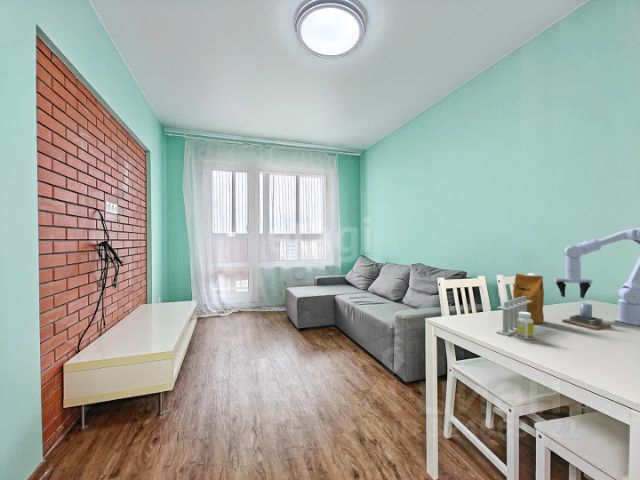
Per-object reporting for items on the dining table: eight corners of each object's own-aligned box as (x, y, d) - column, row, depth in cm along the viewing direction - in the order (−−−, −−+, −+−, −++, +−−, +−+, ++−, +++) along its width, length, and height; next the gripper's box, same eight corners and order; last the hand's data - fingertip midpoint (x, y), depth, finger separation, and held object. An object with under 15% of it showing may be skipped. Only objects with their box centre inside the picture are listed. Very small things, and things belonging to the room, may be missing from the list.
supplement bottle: (532, 336, 113) (532, 312, 113) (534, 340, 108) (534, 315, 108) (515, 333, 115) (516, 310, 115) (517, 338, 111) (517, 313, 111)
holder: (577, 318, 135) (577, 312, 135) (610, 326, 124) (610, 319, 124) (562, 321, 131) (562, 315, 130) (595, 330, 119) (595, 323, 119)
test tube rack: (508, 336, 113) (508, 304, 113) (496, 333, 116) (496, 301, 116) (532, 325, 127) (532, 296, 127) (521, 322, 130) (521, 294, 130)
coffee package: (516, 315, 142) (517, 272, 141) (547, 321, 131) (547, 274, 131) (508, 318, 136) (508, 273, 136) (538, 325, 126) (539, 276, 125)
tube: (582, 320, 130) (582, 303, 130) (594, 322, 126) (593, 304, 126) (577, 321, 128) (577, 303, 128) (588, 323, 125) (588, 305, 124)
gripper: (586, 269, 141) (586, 296, 141) (551, 268, 146) (551, 294, 146) (594, 271, 134) (594, 299, 135) (557, 270, 139) (557, 297, 140)
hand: (572, 297), depth 140 cm, fingers open, 7 cm apart
